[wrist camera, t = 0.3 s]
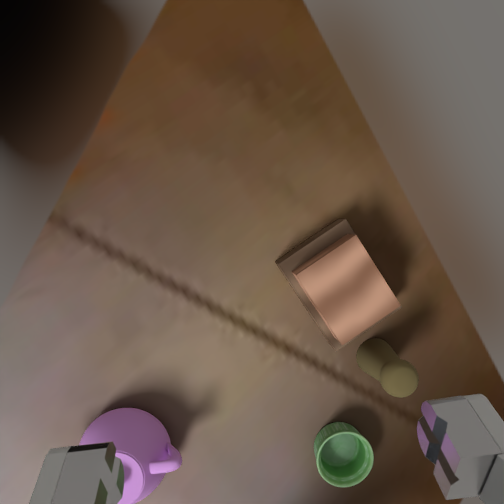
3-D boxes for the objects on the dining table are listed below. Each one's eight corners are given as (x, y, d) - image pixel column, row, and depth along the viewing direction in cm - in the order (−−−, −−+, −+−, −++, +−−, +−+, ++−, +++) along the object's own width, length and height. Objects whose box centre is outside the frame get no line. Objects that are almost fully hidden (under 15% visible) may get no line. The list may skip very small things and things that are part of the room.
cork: (387, 333, 66) (419, 355, 55) (396, 368, 67) (430, 396, 56) (352, 344, 66) (377, 368, 55) (361, 379, 67) (388, 410, 56)
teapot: (50, 416, 64) (16, 455, 53) (178, 392, 65) (169, 425, 54) (68, 499, 65) (38, 554, 54) (194, 473, 66) (188, 522, 55)
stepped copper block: (391, 302, 66) (414, 313, 58) (329, 343, 66) (343, 360, 58) (338, 219, 64) (354, 218, 56) (274, 261, 64) (282, 267, 56)
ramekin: (340, 480, 68) (349, 498, 64) (299, 449, 67) (304, 465, 63) (375, 439, 68) (385, 454, 63) (333, 407, 67) (341, 420, 62)
